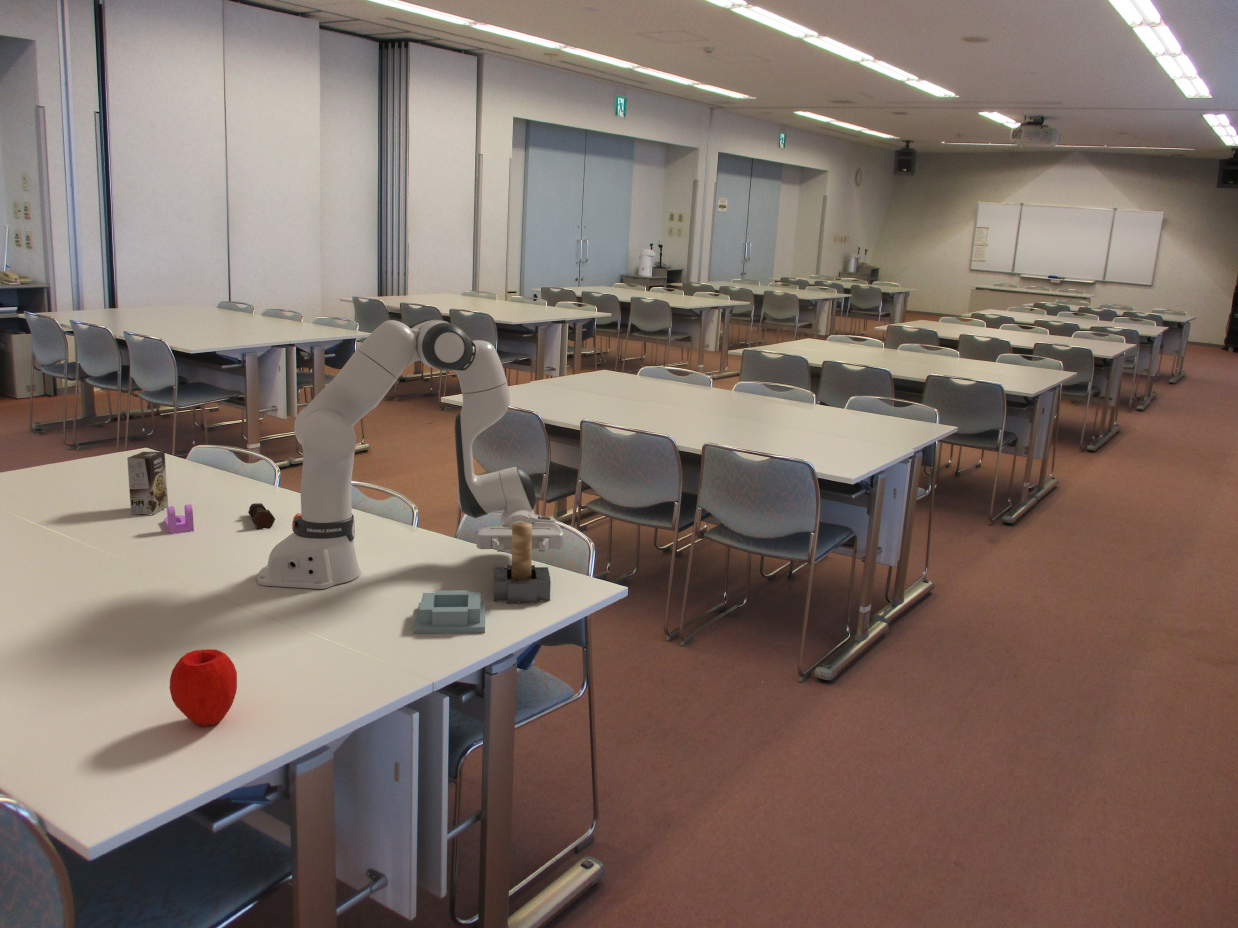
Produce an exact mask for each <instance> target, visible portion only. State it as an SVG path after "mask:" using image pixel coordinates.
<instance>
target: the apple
mask: <svg viewBox="0 0 1238 928" xmlns="http://www.w3.org/2000/svg"><path fill="white" fill-rule="evenodd" d="M237 672H238V671H237V669H236V666H235V663H234V662H233V661H232V659H231V658H230V657H229V656H228V655H227V654H226V653H225V652H223V651H221V650H218V649H214V648H213V649H208V648H207V649H195V650H192V651H189V652H186V653H185V654H184V655H182V657H180V658H179V660H178V661H177V662H176V664H175V665H174V667H173V668H172V670H171V673H170V678H169V691H170V693H169V694H170V696H171V701H173V703H174V705H175V707H176V708H177V709H178V710H179V711H180V712H181V713H182V714H183V715H184V716H185V717H186V718H187V719H188V720H189V721H191V722H192V723H193V724H196V725H198V726H202V727H203V726H204V727H206V726H211V725H215V724H219V722H221V721H223V720H224V718H225V717H226V715H227V714H228V712H229V711H230V710H231V707H232V706H233V703H234V701H235V698H236V693H237V689H238V673H237Z"/></svg>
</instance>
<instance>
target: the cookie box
mask: <svg viewBox="0 0 1238 928" xmlns="http://www.w3.org/2000/svg"><path fill="white" fill-rule="evenodd" d="M127 470H128V471H127V473H128V486H129V487H128V489H129V500H130V501H129V503H130V514H131V515H140V514H148V515H147V516H150V515H149V514H154V515H156V514H158V513H159V511H160V510H161V511H163V510H165V509H167V508H166V507H169V499H168V482H167V469H166V452H165V451H141V452H139V453H137V454H133V455H130V456H129V457H127ZM164 508H165V509H164ZM162 509H163V510H162ZM161 511H160V512H161ZM157 512H158V513H157ZM155 513H156V514H155Z"/></svg>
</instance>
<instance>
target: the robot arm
mask: <svg viewBox="0 0 1238 928" xmlns="http://www.w3.org/2000/svg"><path fill="white" fill-rule="evenodd" d="M500 359H501V358H500V356H499V354H498V352H497V350H496V348H495V347H494V345H493V344H492V343H491V342H489V341H487V340H486V341H485V340H482V339H481V340H480V339H479V340H478V339H477V340H476V339H475V340H472V339H471V338H470V337H469V336H468V335H467V334H466V332H465V331H464V330H463V329H461V328H460V327H459V326H457V325H456V324H453V323H450V322H449V321H446V320H444V319H443V320H441V319H425V320H423V321H419V322H418V323H415V324H413V325H410V326H408V325H407V324H405V323H403V322H401V321H398V320H395V319H394V320H392V319H389V320H385V321H384V322H382V323H381V324H380V325H379V326H377V327H376V328H374V330H373V331H371V333H370V334H369V335H368V336H367V337H366V338H365V339H364V340H363V342H362V343H361V344H360V345H359V346H358V348H356V350H355V352H353V354H352V355H351V357H350V358H349V359H348V360H347V361H346V363H345V364H344V365H343V367H341V369H340V370H339V372H338V373H337V374H336V376H335V377H334V378H333V379H332V380H331V381H330V382H329V383H328V384H327V385H325V387H324V388H323V389H322V390H321V391H320V392H319V393H318V394H316V395H315V397H313V399H312V400H311V401H309V403H308V404H307V405H306V406H305V407H304V408H302V410H299V412H298V414H297V415H296V417H295V420H294V426H293V431H294V436H295V438H296V440H297V441H298V444H300V445H301V447H302V455H303V457H302V470H301V471H302V472H301V481H300V482H299V483H300V485H299V487H300V489H299V490H300V510H301V511H300V512H301V513H300V512H297V513H295V515H294V516H293V518H292V524H291V528H292V533H291V534H289V535H288V536H286V537H285V538H284V539H283V540H281V541H280V542H279V543H277V544H276V545H275V546H274V547H273V548H272V550H271V551H270V553H269V556H268V561H267V564H266V565H265V566H264V567H262V568H261V569H260V570H259V572H258V574H257V579H256V581H257V583H258V585H260V586H265V587H267V586H268V587H270V586H271V587H281V588H282V587H283V588H297V589H298V588H300V589H301V588H302V589H319V590H322V589H323V590H325V589H328V588H330V587H333V586H335V585H339V584H344V583H348V582H350V581H353V580H356V579H357V578H358V577H360V575H361V572H362V571H361V570H360V567H359V563H358V560H357V554H356V550H355V543H354V539H355V536H356V531H355V530H356V529H355V528H356V527H355V515H354V514H353V513H352V509H353V507H352V504H353V503H352V501H353V500H352V478H353V471H354V461H355V454H356V453H355V451H356V447H357V437H356V436H357V435H356V432H355V428H354V427H355V426H356V424H358V422H359V421H360V420H362V419H363V417H365V416H366V415H367V414H368V413H370V412H371V411H372V410H374V409H375V408H376V407H378V405H380V403H381V401H382V400H383V399H384V397H385V396H386V395H387V394H388V392H389V391H390V389H392V387H393V386H394V385H395V384H396V382H397V380H398V379H399V378H400V376H401V375H402V374H403V372H404V371H405V369H406V368H408V367H409V366H410V365H411V364H413V363H415V362H419V363H422V364H424V366H425V365H426V366H427V367H429V368H433V369H437V370H440V371H453V372H454V373H455V375H456V377H457V379H458V382H459V386H460V391H461V394H462V395H461V396H462V407H461V410H460V412H459V413H457V415H456V416H455V419H454V440H455V442H454V443H455V444H454V445H455V454H456V466H457V467H456V468H457V479H458V483H457V495H456V496H457V503H458V505H459V509H460V510H461V512H462V513H463V514H465V515H467V516H468V517H471V518H472V519H479V518H480V517H484V516H487V515H489V514H492V513H495V512H499V511H501V514H500V520H499V521H500V525H498V526H497V525H495V526H494V525H492V526H491V525H490V526H489V525H487V526H481V527H480V528H478V530H476V531H475V537H476V548H477V549H479V550H495V551H496V552H497V553H504V551H505V550H512V524H514V523H518V522H526V523H530V524H532V550H538V552H541V553H543V552H544V553H545V552H546V550H560V549H563V548H564V543H565V538H564V537H565V536H564V531H563V529H562V528H561V526H560V525H559V524H557V523H556V519H555V518H554V517H548V516H542V515H537V514H535V512H534V509H535V507H536V505H537V497H536V492H535V487H534V484H533V481H532V478H531V475H530V474H529V472H527V471H526V470H525V469H523V468H522V467H520V466H513V467H508V468H504V469H500V470H497V471H493V472H489V473H485V474H480V475H478V474H475V470H474V458H473V456H474V455H473V454H474V453H473V443H474V441H475V439H476V438H477V437H478V436H479V435H480V434H481V433H482V432H484V431H485V430H487V429H488V428H490V427H492V426H493V425H494V424H496V423H497V422H498V421H499V420H501V419H502V417H504V416H505V414H506V413H507V411H508V409H509V407H510V403H511V396H510V391H509V385H508V380H507V377H506V374H505V370H504V367H503V364H502V361H501V360H500Z"/></svg>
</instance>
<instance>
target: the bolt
mask: <svg viewBox="0 0 1238 928" xmlns="http://www.w3.org/2000/svg"><path fill="white" fill-rule="evenodd" d="M247 513H248V515H249V516H250V517H251V521H252V523H253V524H254V525H255V527H256V528H257V530H264V529H263V528H268V529H271V528H272V527H273V525H274V523H275V521H276V518H275V516H274V515H273V514H272V512H271V511H270V510H269V509H267V508H266V507H265V506H264V504H263V503H258V502H257V503H256V502H255V503H252V504H250V506H249V509H248V511H247Z"/></svg>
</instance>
